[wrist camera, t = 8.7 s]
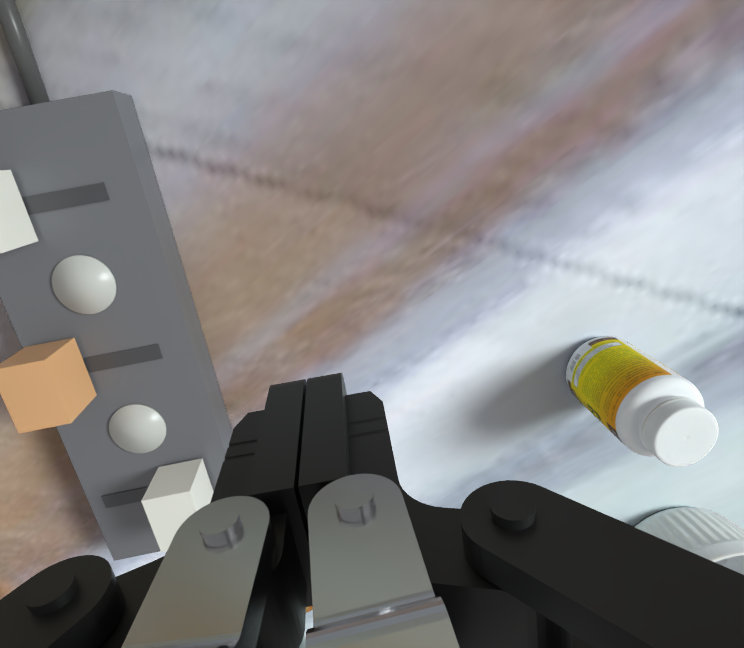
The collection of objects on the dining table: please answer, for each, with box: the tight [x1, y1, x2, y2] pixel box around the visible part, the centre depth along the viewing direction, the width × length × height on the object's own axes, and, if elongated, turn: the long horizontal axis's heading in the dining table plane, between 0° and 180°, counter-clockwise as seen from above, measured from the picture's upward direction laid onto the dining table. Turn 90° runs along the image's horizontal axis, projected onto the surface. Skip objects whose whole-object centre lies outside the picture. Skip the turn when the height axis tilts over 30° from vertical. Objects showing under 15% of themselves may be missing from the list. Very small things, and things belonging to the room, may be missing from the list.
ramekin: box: [635, 507, 744, 575], centre depth 43 cm, size 13×13×7 cm
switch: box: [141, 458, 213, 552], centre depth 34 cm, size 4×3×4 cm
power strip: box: [0, 0, 233, 561], centre depth 32 cm, size 40×10×3 cm, turn 10°
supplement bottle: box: [566, 336, 718, 467], centre depth 35 cm, size 6×6×10 cm
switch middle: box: [0, 338, 97, 433], centre depth 31 cm, size 4×3×4 cm
